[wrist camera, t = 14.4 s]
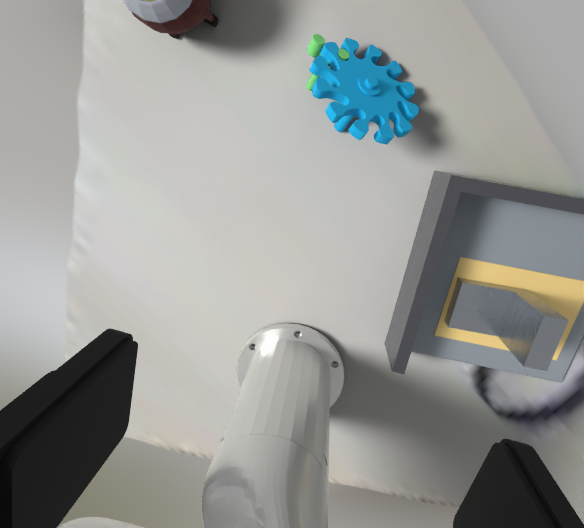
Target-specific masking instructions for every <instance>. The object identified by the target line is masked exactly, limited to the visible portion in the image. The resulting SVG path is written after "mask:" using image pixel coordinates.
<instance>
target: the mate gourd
mask: <svg viewBox="0 0 584 528" xmlns="http://www.w3.org/2000/svg"><path fill="white" fill-rule="evenodd" d="M123 2H124V3H125V4H126V6H127V7H128V9H129V10H130V11H131V12H132V13H133V15H134V16H135V17H136V18H137V19H138V20H140V21H141V22H143V23H144V24H146V25H147V26H149V27H150V28H152V29H153V30H155V31H158V32H160V33H169V35H170V36H171V37H173V38H176V39H178V37H179V35H180V33H183V32H186V31H190V30H192V29H194V28H195V27H196V26H197V25H198V24H200V23H201V22H202V21H203V20H204V21H205V22H207V23H208V24H210V25H211V26H213V27H216V26H217V24H218V18H217V17H215V16H214V15H213V14H212V13H211V12H210V10H209V9H210V3H211V0H123Z"/></svg>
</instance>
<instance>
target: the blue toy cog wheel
mask: <svg viewBox="0 0 584 528" xmlns="http://www.w3.org/2000/svg"><path fill="white" fill-rule="evenodd" d="M324 43H325V40H324V38H323V37H322V36H321V35H319V34H315V35H314V36H313V38H312V40H311V42H310V45H309V47H308V49H307V52H308V54H309V55H310V56H312V57H315V59H314V61H313V63H312V66H311V68H310V72H311V73H312V76H311V78H310V80H309V82H308V84H307V89H308V90H311V91H312V92H313V96H314V97H315V98H318V99H322V98H330V99H333V100H336V101H338V102H340V103H341V104H340V103H338V102H331V103H330V104H329V106H328V107H327V109H326V114H327V116H328V118H329V119H330V120H331V122H333V123H336V124H335V129H336V130H337V131H338V132H343V131H344V130H345V128H346V127H347V126H348V124H349V123H350V122H351V120H352V119H353V117H354V116H357V117H358V118H359V119H358V120H355V121H354V123H353V124H352V125H351V127H350V128H349V133H350V134H351V135H353V136H354V137H355V138H357V139H359V140H361V139H362V138H363V137H364V136H365V135H366V133H367V132H368V124H369V122H371V121H373V122H375V123H377V124H378V126H379V130H378V131H377V132H376V133H375V135H374V139H375V141H376V142H378V143H382V144H388V143H389V142H390V141H391V140H392V138H393V137H394V134H395V135H396V136H397V137H403V136H405V135H407V134H408V133H409V131H410V130H411V129H412V125H411V123H410V121H411V120H412V119H413V118H414V117H415V116H416V115H417V114H418V112H419V107H418V106H417V105H416V104H413V103H410V102H408V101H409V100H410V99H411V98H412V96H413V95H414V94H415V89H414V85H413V84H412V83H410V82H398V81H396V79H397V78H398V76H399V75H400V74H401V73H402V69H401V67H400V66H399V64H398V63H397V62H396V61H392V62H391V63H390V64H389V65H387V66H377V65H375V63H376V62H377V61H378V59H379V58H380V56H381V55H382V52H381V51H380V50H379V49H378V48H376V47H375V46H374V45H370V46H369V48H368V49H367V51H366V52H365V54H364V59H358V58H357V57H356V56H355V55H354V54H355V52H356V50H357V49H358V47H359V44H358V42H357V41H355V40H353V39H349V38H346V39H345V40H344V42H343V44H342V46H341V49H339V48H338V46H337V44H336V43H335V42H328V43H325V44H324ZM320 77H321V78H320ZM399 110H400V111H401V113H400V111H399ZM388 119H390V120H392V122H393V123H394V128H393V131H394V134H393V131H392V130H391V128H390V125H389V120H388Z"/></svg>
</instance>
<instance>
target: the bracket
mask: <svg viewBox="0 0 584 528" xmlns="http://www.w3.org/2000/svg"><path fill="white" fill-rule="evenodd" d="M444 321H445V323H446V324H447V326H448V327H450V328H455V329H460V330H466V331H471V332H476V333H482V334H487V335H492V336H498V337H499V339H500V340H501V341H502V342H503V343H504V344H505V346H506V347H507V348H508V349H509V350H510V351H511V353H512V354H513V355H514V356H515V357H516V358H517V360H518V361H519V362H520V363H521V364H522V365H523V367H528V368H533V369H538V370H544V371H547V370H548V367H549V365H550V363H551V360H552V358H553V356H554V353H555V351H556V349H557V347H558V344H559V342H560V340H561V337H562V335H563V333H564V330H565V328H566V326H567V323H568V321H569V320H568V319H566V318H565V317H564V316H562V315H561V314H560V313H558V312H557V311H556V310H554V309H553V308H552V307H550V306H549V305H548V304H546V303H545V302H543V301H542V300H541V299H539V298H538V297H537V296H535V295H534V294H533V293H531V292H530V291H529V290H526V289H521V288H515V287H509V286H504V285H498V284H493V283H487V282H481V281H476V280H470V279H465V278H459V277H458V278H457V282H456V285H455V288H454V291H453V294H452V298H451V301H450V304H449V307H448V310H447V314H446V317H445V320H444Z"/></svg>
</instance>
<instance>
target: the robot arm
mask: <svg viewBox="0 0 584 528" xmlns="http://www.w3.org/2000/svg"><path fill="white" fill-rule="evenodd" d="M297 331H299V332H297ZM254 344H255V345H254ZM137 350H138V343H137V342H135V341H133V337H132V335H131V334H128V333H125V332H121V331H118V330H114V329H107V330H106V331H104V332H103V333H102V334H101V335H99V336H98V337H97V338H96V339H94V340H93V341H92V342H91V343H89V344H88V345H87V346H86V347H84V348H83V349H82V350H81V351H79V352H78V353H77V354H76V355H74V356H73V357H72V358H70V359H69V360H68V361H67V362H65V363H64V364H63V365H62V366H61V367H59V368H58V369H57V370H55V371H51V372H50V373H48V374H46V375H45V376H44V377H42V378H41V379H40V380H39V381H38V382H36V383H35V384H34V385H32V386H31V387H30V388H28V389H27V390H26V391H25V392H23V393H22V394H21V395H20V396H18V397H17V398H16V399H14V400H13V401H12V402H11V403H9V404H8V405H7V406H6V407H4V408H3V409H2V410H1V411H0V528H145V527H141V526H138V525H134V524H130V523H126V522H121V521H117V520H112V519H107V518H101V517H83V518H79V519H74V520H71V521H69V522H66V523H64V524H62V525H60V526H58V525H59V524H60V523H61V521H62V520H63V518H64V517H65V516H66V514H67V513H68V512H69V510H70V509H71V507H72V506H73V505H74V503H75V502H76V501H77V499H78V498H79V497H80V495H81V494H82V493H83V491H84V490H85V488H86V487H87V486H88V484H89V483H90V482H91V480H92V479H93V477H94V476H95V475H96V473H97V472H98V471H99V469H100V468H101V467H102V465H103V464H104V462H105V461H106V460H107V458H108V457H109V456H110V454H111V453H112V451H113V450H114V448H115V447H116V446H117V445H118V443H119V442H120V441H121V439H122V438H123V436H124V434H125V432H126V430H127V427H128V423H129V415H130V407H131V399H132V391H133V383H134V374H135V366H136V358H137ZM334 361H336V362H334ZM237 379H238V382H239V386H240V388H241V389H240V391H239V394H238V396H237V399H236V401H235V404H234V406H233V409H232V411H231V414H230V416H229V419H228V421H227V424H226V427H225V429H224V432H223V434H222V437H221V439H220V442H219V444H218V447H217V449H216V452H215V454H214V457H213V459H212V462H211V465H210V468H209V470H208V473H207V475H206V479H205V483H204V488H203V495H202V512H203V520H204V526H205V528H328V516H327V515H328V472H329V427H330V407H331V406H332V405H333V404H334V403H335V402H336V401H337V399H338V398H339V396H340V394H341V391H342V389H343V384H344V367H343V362H342V359H341V357H340V354H339V352H338V351H337V349H336V348H335V346H334V345H333V344H332V343H331V342H330V341H329V340H328V339H327V338H326V337H325V336H324V335H322V334H321V333H319V332H318V331H316V330H314V329H311V328H309V327H307V326H303V325H299V324H290V323H284V324H276V325H272V326H269V327H266V328H264V329H262V330H260V331H258V332H257V333H255V334H254V335H253V336H252V337H250V339H249V340H248V341H247V342H246V343H245V345H244V347H243V349H242V351H241V353H240V355H239V358H238V362H237ZM453 528H584V524H583V523H582V521H581V520H580V518H579V517H578V515H577V514H576V512H575V511H574V509H573V508H572V506H571V505H570V503H569V502H568V500H567V498H566V497H565V495H564V494H563V492H562V491H561V489H560V488H559V486H558V485H557V483H556V482H555V480H554V479H553V477H552V476H551V474H550V472H549V471H548V469H547V468H546V466H545V465H544V463H543V462H542V460H541V459H540V457H539V456H538V454H537V453H536V451H535V450H534V449H533V447H532V446H530V445H527V444H524V443H520V442H517V441H513V440H509V439H503V440H502V441H501V442H500V443H495V444H494V445H493V446H492V448H491V450H490V452H489V453H488V455H487V457H486V459H485V461H484V463H483V465H482V467H481V468H480V470H479V472H478V474H477V476H476V478H475V480H474V482H473V483H472V485H471V487H470V489H469V491H468V493H467V495H466V496H465V498H464V500H463V502H462V504H461V506H460V508H459V510H458V511H457V513H456V515H455V518H454V522H453Z"/></svg>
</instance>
